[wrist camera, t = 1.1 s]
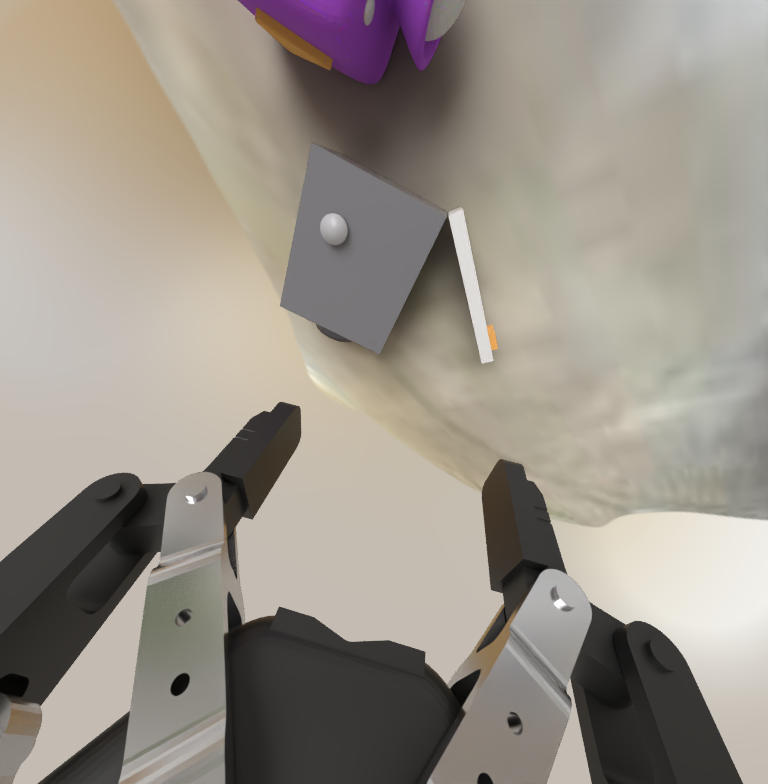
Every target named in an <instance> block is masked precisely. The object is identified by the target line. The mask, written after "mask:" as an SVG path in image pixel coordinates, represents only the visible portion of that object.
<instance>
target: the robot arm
mask: <svg viewBox="0 0 768 784" xmlns="http://www.w3.org/2000/svg"><path fill="white" fill-rule="evenodd" d="M300 411H301V410H300V407H299V406H296V405H292V404H288V403H284V402H279V403H278V404H277V405H276V407H275V408H274V409H273V410H272V411H271V412H266V411H263V412H261V413H260V414H258V415H256V416H254V417H253V418H251V419H250V420H249V422H248V423H247V424H246V425H245V426H244V427H243V429H242V430H241V431H240V432H239V433H238V434H237V435H236V437H235V438H233V439H232V441H231V442H230V443H229V444H228V445H227V446H226V447H225V448H224V449H223V450H222V452H221V453H220V454H219V455H218V456H217V457H216V458H215V459H214V460H213V462H212V463H211V464H210V465H209V466H208V467H207V468H206V469H205V470H204V471H203V472H198V473H194V474H191V475H188V476H186V477H184V478H183V479H181V480H179V481H178V482H177V483H169V484H142V483H141V481H140V479H139V478H138V477H137V476H135V475H134V474H131V473H117V474H113V475H109V476H106V477H104V478H102V479H99V480H98V481H95V482H94V483H92V484H91V485H90V486H88V487H87V488H86V489H85V490H83V491H82V492H81V493H80V494H79V495H77V496H76V497H75V498H74V499H73V500H72V501H70V502H69V503H68V504H67V505H66V506H65V507H63V508H62V509H61V510H60V511H59V512H58V513H56V514H55V515H54V516H53V517H52V518H51V519H49V520H48V521H47V522H46V523H45V524H44V525H42V526H41V527H40V528H39V529H38V530H37V531H35V532H34V533H33V534H32V535H31V536H30V537H28V538H27V539H26V540H25V541H24V542H23V543H22V544H20V545H19V546H18V547H17V548H16V549H15V550H13V551H12V552H11V553H10V554H9V555H8V556H6V557H5V558H4V559H3V560H2V561H1V562H0V784H12V783H13V780H14V778H15V775H16V773H17V771H18V769H19V767H20V765H21V764H22V763H23V761H24V760H25V759H26V758H27V757H28V755H29V754H30V753H31V751H32V749H33V747H34V745H35V742H36V738H37V735H38V732H39V730H40V726H41V722H42V711H41V708H40V706H41V705H42V703H43V702H44V701H45V699H46V698H47V697H48V696H49V694H50V693H51V692H52V690H53V689H54V688H55V686H56V685H57V684H58V682H59V681H60V680H61V678H62V677H63V676H64V674H65V673H66V672H67V671H68V669H69V668H70V667H71V665H72V664H73V663H74V661H75V660H76V659H77V657H78V656H79V655H80V653H81V652H82V651H83V649H84V648H85V647H86V646H87V644H88V643H89V642H90V640H91V639H92V638H93V636H94V635H95V634H96V632H97V631H98V630H99V628H100V627H101V626H102V624H103V623H104V622H105V621H106V619H107V618H108V616H109V615H110V614H111V613H112V611H113V610H114V609H115V607H116V606H117V605H118V603H119V602H120V601H121V599H122V598H123V597H124V595H125V594H126V593H127V591H128V590H129V589H130V588H131V586H132V585H133V584H134V582H135V581H136V580H137V578H138V577H139V576H140V574H141V573H142V572H143V570H144V569H145V568H146V566H147V565H148V564H149V563H150V561H151V560H152V558H153V557H154V556H155V555H156V553H157V552H161V556H160V562H159V565H158V567H156V568H154V569H153V570H152V571H151V573H150V576H149V579H148V583H147V590H146V598H145V606H144V613H143V620H142V627H141V635H140V642H139V649H138V657H137V664H136V671H135V678H134V686H133V693H132V701H131V708H130V711H129V712H128V713H127V714H125V715H124V716H123V717H122V718H120V719H119V720H118V721H116V722H115V723H114V724H113V725H112V726H110V727H109V728H107V729H106V730H105V731H104V732H102V733H101V734H100V735H99V736H97V737H96V738H95V739H94V740H92V741H91V742H90V743H88V744H87V745H86V746H85V747H84V748H82V749H81V750H80V751H78V752H77V753H76V754H75V755H73V756H72V757H71V758H70V759H68V760H67V761H66V762H64V763H63V764H62V765H61V766H59V767H58V768H57V769H56V770H54V771H53V772H52V773H50V774H49V775H48V776H47V777H45V778H44V779H43V780H42V781H40V782H39V783H38V784H547V780H548V778H549V775H550V772H551V769H552V766H553V763H554V760H555V757H556V754H557V751H558V748H559V746H560V743H561V740H562V737H563V734H564V731H565V728H566V726H567V723H568V720H569V716H570V713H571V706H572V703H571V698H570V697H569V695H567V692H566V688H567V684H568V681H569V679H570V678H571V683H572V688H573V693H574V698H575V703H576V708H577V713H578V718H579V723H580V727H581V732H582V737H583V742H584V746H585V752H586V757H587V761H588V767H589V772H590V776H591V781H592V784H743V783H742V780H741V778H740V776H739V774H738V772H737V770H736V768H735V765H734V763H733V761H732V759H731V757H730V755H729V752H728V750H727V748H726V746H725V744H724V742H723V739H722V737H721V735H720V733H719V731H718V729H717V727H716V724H715V722H714V720H713V718H712V716H711V713H710V711H709V709H708V707H707V705H706V703H705V701H704V698H703V696H702V694H701V692H700V690H699V687H698V686H697V683H696V681H695V679H694V677H693V674H692V672H691V670H690V668H689V666H688V664H687V662H686V660H685V659H684V657H683V655H682V654H681V653H680V651H679V650H678V649H677V647H676V646H675V645H674V644H673V643H672V641H670V639H668V638H667V637H666V636H665V635H664V634H663V633H662V632H661V631H659V630H658V629H657V628H655V627H653V626H652V625H650V624H647V623H645V622H642V621H634V622H632V623H629V624H627V625H625V624H624V623H622V622H620V621H619V620H617V619H615V618H614V617H612V616H611V615H609V614H607V613H606V612H604V611H602V610H601V609H599V608H598V607H596V606H595V605H593V604H592V603H590V602H589V600H588V598H587V596H586V595H585V593H584V591H583V590H582V589H581V587H580V586H579V585H578V584H577V583H576V582H575V581H574V580H573V579H572V578H571V577H570V576H568V575H567V572H566V570H565V567H564V563H563V560H562V557H561V554H560V551H559V547H558V544H557V540H556V537H555V534H554V530H553V527H552V525H551V524H550V522H551V520H550V517H549V514H548V512H547V507H546V504H545V501H544V497H543V495H542V493H541V492H540V491H539V489H538V488H537V486H536V485H535V483H534V482H532V481H528V480H527V478H526V475H525V471H524V467H523V466H522V465H521V464H518V463H514V462H511V461H507V460H503V459H500V460H499V461H498V462H497V464H496V465H495V467H494V468H493V470H492V472H491V473H490V475H489V477H488V478H487V480H486V481H485V483H484V486H483V490H482V503H483V514H484V524H485V533H486V544H487V554H488V564H489V574H490V584H491V590H493V591H497V592H500V593H503V596H504V604H503V605H502V606H501V608H500V609H499V611H498V612H497V614H496V615H495V617H494V619H493V620H492V622H491V623H490V625H489V626H488V628H487V630H486V631H485V633H484V634H483V636H482V637H481V639H480V640H479V642H478V643H477V645H476V647H475V648H474V650H473V651H472V653H471V654H470V655H469V657H468V658H467V659H466V660H465V661H464V662H463V663H462V665H461V666H460V667H459V668H458V670H457V671H456V672H455V674H454V675H453V677H452V678H451V680H450V681H449V683H448V684H447V685H446V683H445V682H444V681H443V679H442V678H441V677H440V676H439V675H438V674H437V673H436V672H435V671H434V670H433V669H432V668H431V667H430V666H429V665H427V664H426V663H425V652H424V651H421V650H418V649H415V648H411V647H408V646H405V645H401V644H398V643H395V642H392V641H389V640H387V641H363V642H349V641H346V640H344V639H343V638H342V637H340V636H339V635H337V634H336V633H334V632H333V631H332V630H330V629H329V628H328V627H326V626H325V625H324V624H322V623H321V622H320V621H318V620H317V619H316V618H314V617H311V616H308V615H305V614H301V613H298V612H295V611H292V610H288V609H285V608H282V607H279V608H278V610H277V613H276V615H275V616H267V617H262V618H258V619H255V620H252V621H250V622H247V623H245V614H244V604H243V597H242V592H241V586H240V577H239V564H238V551H237V538H236V525H237V524H238V522H239V521H240V519H241V518H242V517H246V518H249V519H253V518H254V516H255V515H256V513H257V511H258V510H259V508H260V506H261V505H262V503H263V502H264V500H265V498H266V497H267V495H268V493H269V492H270V490H271V489H272V487H273V485H274V484H275V482H276V481H277V479H278V477H279V476H280V474H281V472H282V471H283V469H284V468H285V466H286V464H287V462H288V461H289V459H290V458H291V456H292V454H293V453H294V451H295V450H296V448H297V446H298V444H299V441H300V437H301V412H300Z"/></svg>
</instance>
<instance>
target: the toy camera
mask: <svg viewBox="0 0 768 784" xmlns="http://www.w3.org/2000/svg"><path fill="white" fill-rule="evenodd" d="M238 1H239V2H240V3H241V4H243V5H244V6H245V7H246V8H247V9H248V10H249V11H250V12H251V13H252V14H253V15H255V20H256V22H257V23H258V24H259V25H260V26H262V27H263V28H264V29H265V30H266V31H267V32H268V33H269V34H271V35H272V36H273V37H274V38H275V39H276V40H277V41H278V42H279V43H281V44H282V45H283V46H284V47H285V48H286V49H287V50H288V51H290V52H291V53H293V54H295V55H297V56H299V57H302V58H304V59H306V60H308V61H310V62H312V63H315V64H317V65H319V66H321V67H323V68H326V69H328V70H331V67H333V68H335V69H337V70H338V71H340V72H342V73H344V74H345V75H347V76H349V77H351V78H353V79H355V80H357V81H359V82H361V83H365V84H375V83H377V82H378V81H379V80H380V79H381V78H382V76H383V74H384V72H385V70H386V67H387V65H388V62H389V59H390V56H391V53H392V50H393V46H394V43H395V40H396V37H397V33H398V30H399V27H400V26H401V29H402V32H403V35H404V37H405V40H406V43H407V46H408V48H409V51H410V53H411V56H412V58H413V61H414V63H415V65H416V67H417V68H418V70H420V71H422V70H424V69H425V68H426V67H427V65H428V64H429V62H430V61H431V59H432V57H433V55H434V53H435V51H436V49H437V47H438V44H439V42H440V40H441V37H442V36H443V35H444V34H445V33H446V32H447V31H448V30H449V29H450V28H451V26H452V25H453V24H454V23H455V21H456V20H457V18H458V16H459V14H460V13H461V11H462V9H463V6H464V4H465V2H466V0H238Z"/></svg>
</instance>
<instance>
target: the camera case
mask: <svg viewBox="0 0 768 784" xmlns="http://www.w3.org/2000/svg"><path fill="white" fill-rule="evenodd" d="M447 213H448V212H446V211H445V210H443V209H441V208H439V207H437V206H436V205H434V204H432V203H430V202H428V201H426V200H425V199H423V198H421V197H419V196H417V195H415V194H414V193H412V192H410V191H408V190H406V189H405V188H403V187H401V186H399V185H397V184H395V183H394V182H392V181H390V180H388V179H386V178H384V177H383V176H381V175H379V174H377V173H375V172H374V171H372V170H370V169H368V168H366V167H364V166H363V165H361V164H359V163H357V162H355V161H353V160H352V159H350V158H348V157H346V156H344V155H343V154H341V153H338V152H335V151H333V150H330V149H327V148H325V147H322V146H319V145H317V144H314V143H311V149H310V154H309V159H308V164H307V169H306V174H305V180H304V185H303V190H302V195H301V200H300V205H299V211H298V216H297V221H296V226H295V231H294V236H293V241H292V247H291V252H290V257H289V262H288V267H287V272H286V278H285V283H284V288H283V293H282V298H281V303H280V306H281V307H283V308H285V309H287V310H289V311H291V312H293V313H295V314H297V315H299V316H302V317H304V318H306V319H308V320H310V321H312V322H314V323H316V325H317V328H318V329H319V330H320V331H321V332H322V333H323V334H324V335H326V336H328V337H329V338H332V339H334V340H337V341H341V342H352V341H353V342H355V343H357V344H359V345H361V346H363V347H365V348H367V349H369V350H371V351H373V352H375V353H377V354H380V353H381V351H382V349H383V347H384V344H385V342H386V340H387V338H388V336H389V334H390V332H391V330H392V328H393V326H394V324H395V322H396V320H397V318H398V316H399V314H400V312H401V310H402V308H403V305H404V303H405V301H406V299H407V297H408V295H409V293H410V291H411V289H412V287H413V285H414V283H415V281H416V279H417V277H418V275H419V273H420V271H421V269H422V266H423V264H424V262H425V260H426V258H427V256H428V254H429V252H430V250H431V248H432V246H433V244H434V242H435V240H436V238H437V236H438V234H439V232H440V230H441V227H442V225H443V223H444V221H445V219H446V217H447Z"/></svg>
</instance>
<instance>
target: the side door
mask: <svg viewBox="0 0 768 784" xmlns="http://www.w3.org/2000/svg"><path fill="white" fill-rule="evenodd" d="M448 216H449V221H450V225H451V229H452V234H453V238H454V243H455V247H456V252H457V256H458V260H459V265H460V269H461V274H462V278H463V283H464V287H465V291H466V296H467V300H468V305H469V309H470V314H471V318H472V322H473V327H474V331H475V336H476V340H477V345H478V349H479V353H480V358H481V362H482V363H487V362H491V361H493V356H492V351H491V350H495V349H498V347H497V342H496V336H495V332H494V329H493V326H492V325H489V326H486V321H485V316H484V311H483V306H482V301H481V296H480V291H479V286H478V281H477V276H476V271H475V266H474V261H473V256H472V251H471V246H470V241H469V236H468V231H467V226H466V221H465V216H464V211H463V209H462V208H461V207H459V208H457V209H454V210H452V211H450V212H449V214H448Z"/></svg>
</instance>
